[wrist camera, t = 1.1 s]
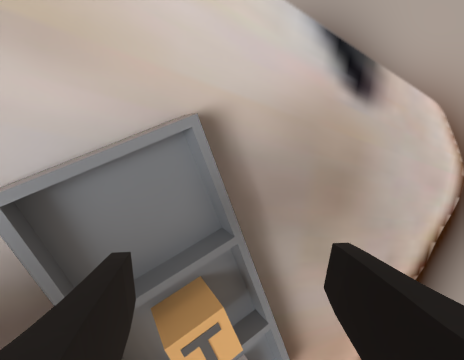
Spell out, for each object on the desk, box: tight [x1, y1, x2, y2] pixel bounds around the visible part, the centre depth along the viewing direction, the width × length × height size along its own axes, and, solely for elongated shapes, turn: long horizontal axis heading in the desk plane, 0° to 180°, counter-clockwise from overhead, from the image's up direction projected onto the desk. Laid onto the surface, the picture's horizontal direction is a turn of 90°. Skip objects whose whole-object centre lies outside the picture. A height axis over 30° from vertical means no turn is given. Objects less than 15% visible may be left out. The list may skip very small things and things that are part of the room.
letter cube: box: [151, 276, 243, 360], centre depth 18 cm, size 4×4×4 cm
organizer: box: [0, 114, 290, 360], centre depth 19 cm, size 11×26×2 cm, turn 21°
